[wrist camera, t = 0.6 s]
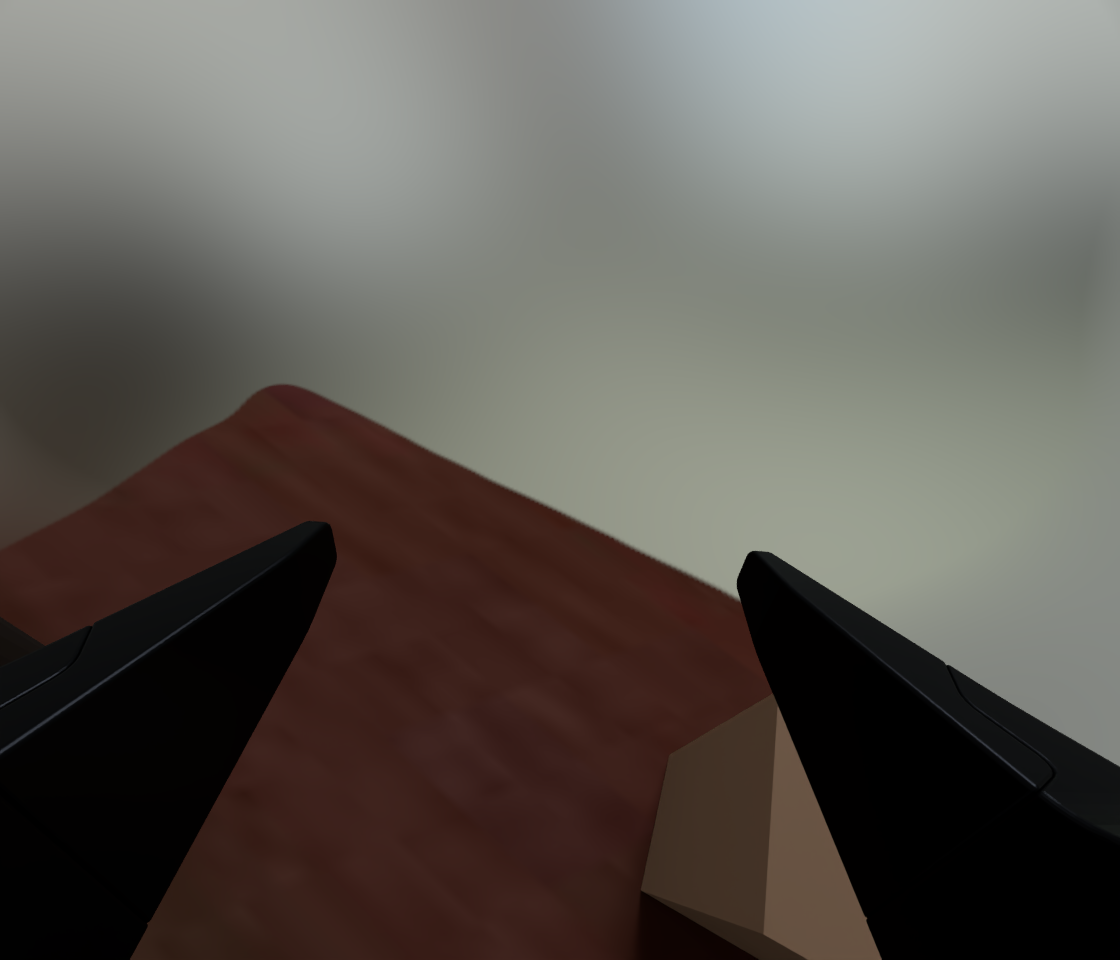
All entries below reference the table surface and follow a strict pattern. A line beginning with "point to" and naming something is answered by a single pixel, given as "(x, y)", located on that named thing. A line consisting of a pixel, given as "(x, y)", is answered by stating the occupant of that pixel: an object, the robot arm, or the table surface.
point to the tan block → (753, 846)
